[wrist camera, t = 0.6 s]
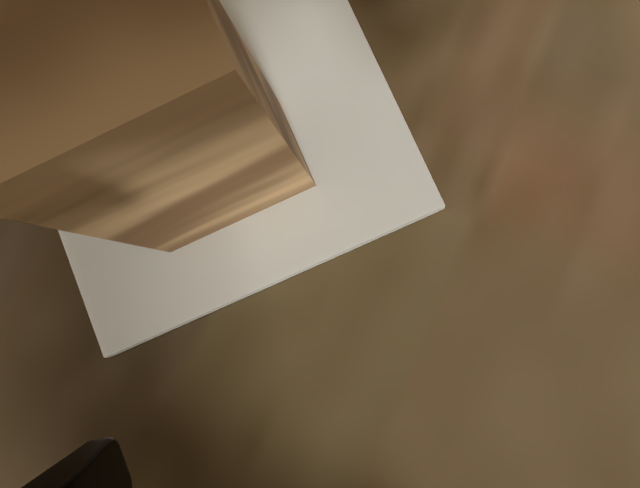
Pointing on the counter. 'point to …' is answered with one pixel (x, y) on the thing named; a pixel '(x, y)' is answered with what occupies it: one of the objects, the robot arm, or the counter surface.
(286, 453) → the counter surface
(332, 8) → the grey mat
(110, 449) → the robot arm
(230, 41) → the oak block
